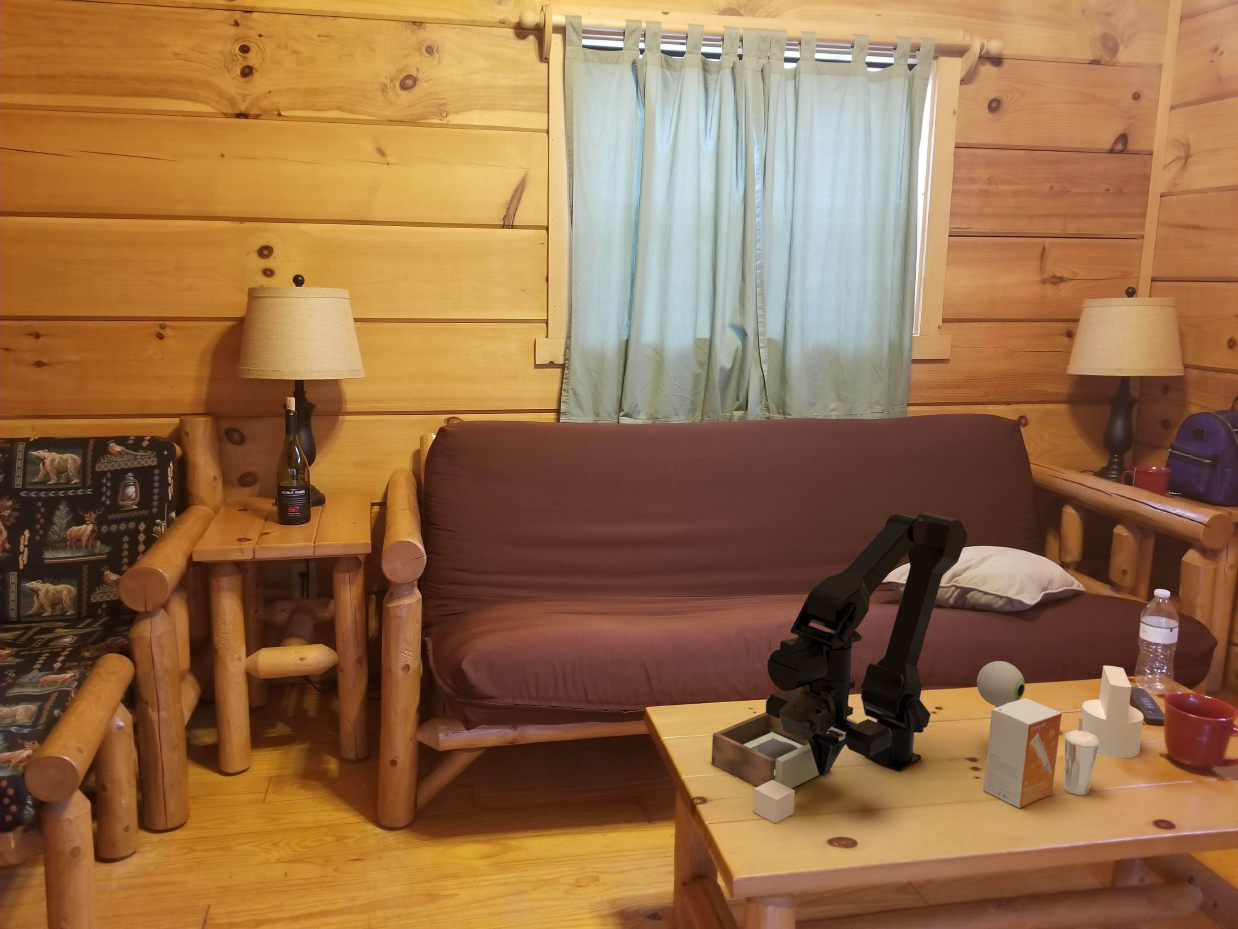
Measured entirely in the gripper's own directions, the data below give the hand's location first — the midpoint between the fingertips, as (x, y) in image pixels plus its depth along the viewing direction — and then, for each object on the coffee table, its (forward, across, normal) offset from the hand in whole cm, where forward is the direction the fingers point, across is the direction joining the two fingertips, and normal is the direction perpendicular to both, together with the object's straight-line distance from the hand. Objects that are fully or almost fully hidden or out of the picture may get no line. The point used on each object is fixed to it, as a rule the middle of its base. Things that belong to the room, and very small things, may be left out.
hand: (823, 774), depth 145 cm
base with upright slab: (+3, +20, +49) cm, 53 cm away
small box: (+3, +18, +22) cm, 29 cm away
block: (+2, 0, -10) cm, 11 cm away
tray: (+2, -9, 0) cm, 9 cm away
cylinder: (+1, -8, 0) cm, 8 cm away
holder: (+3, -10, 0) cm, 10 cm away
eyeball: (+3, +9, +32) cm, 34 cm away
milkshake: (+3, +23, +30) cm, 38 cm away
